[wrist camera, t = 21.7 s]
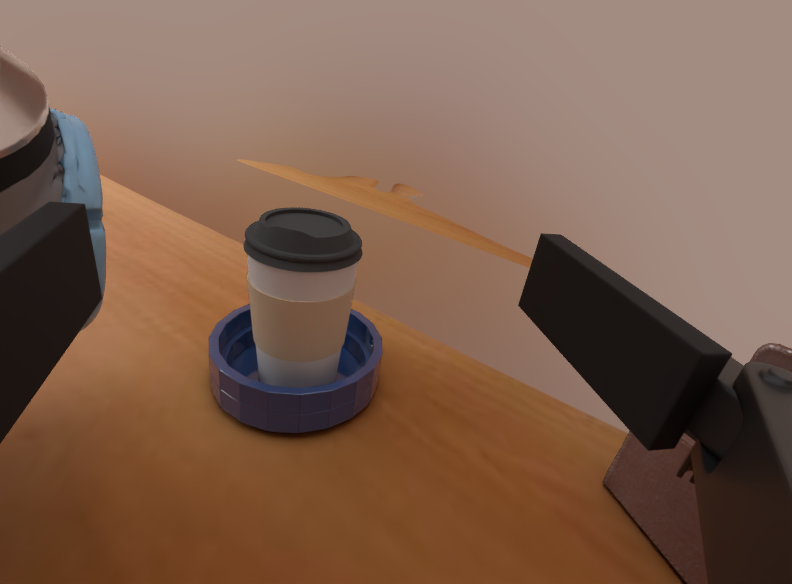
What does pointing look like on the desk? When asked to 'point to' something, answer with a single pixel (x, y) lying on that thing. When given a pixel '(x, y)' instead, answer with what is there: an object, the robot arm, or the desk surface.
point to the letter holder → (671, 490)
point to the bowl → (291, 405)
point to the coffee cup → (300, 293)
